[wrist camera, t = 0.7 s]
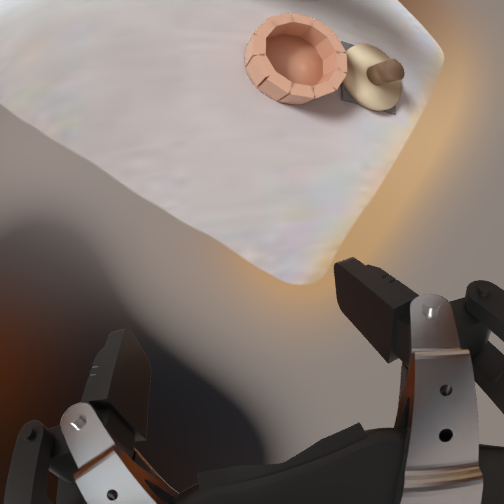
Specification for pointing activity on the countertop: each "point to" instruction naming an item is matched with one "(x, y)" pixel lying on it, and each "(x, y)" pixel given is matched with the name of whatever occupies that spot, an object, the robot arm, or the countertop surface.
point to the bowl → (295, 59)
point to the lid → (373, 77)
